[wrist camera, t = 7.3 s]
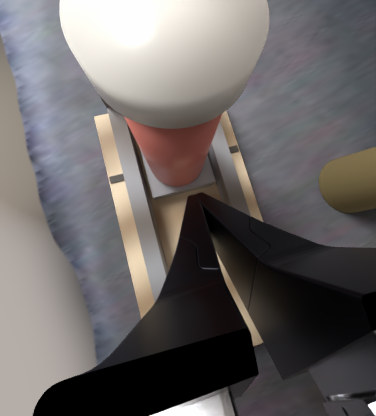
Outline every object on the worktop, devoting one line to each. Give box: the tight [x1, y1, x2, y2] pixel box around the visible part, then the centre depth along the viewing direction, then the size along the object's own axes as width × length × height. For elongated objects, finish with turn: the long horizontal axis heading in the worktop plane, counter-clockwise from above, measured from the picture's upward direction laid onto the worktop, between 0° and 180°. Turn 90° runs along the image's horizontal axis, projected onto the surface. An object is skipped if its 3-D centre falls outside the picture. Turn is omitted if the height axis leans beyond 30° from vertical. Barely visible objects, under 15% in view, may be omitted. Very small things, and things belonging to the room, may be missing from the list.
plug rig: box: [94, 95, 264, 346], centre depth 13 cm, size 22×12×6 cm, turn 16°
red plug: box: [60, 0, 269, 200], centre depth 9 cm, size 5×5×10 cm
